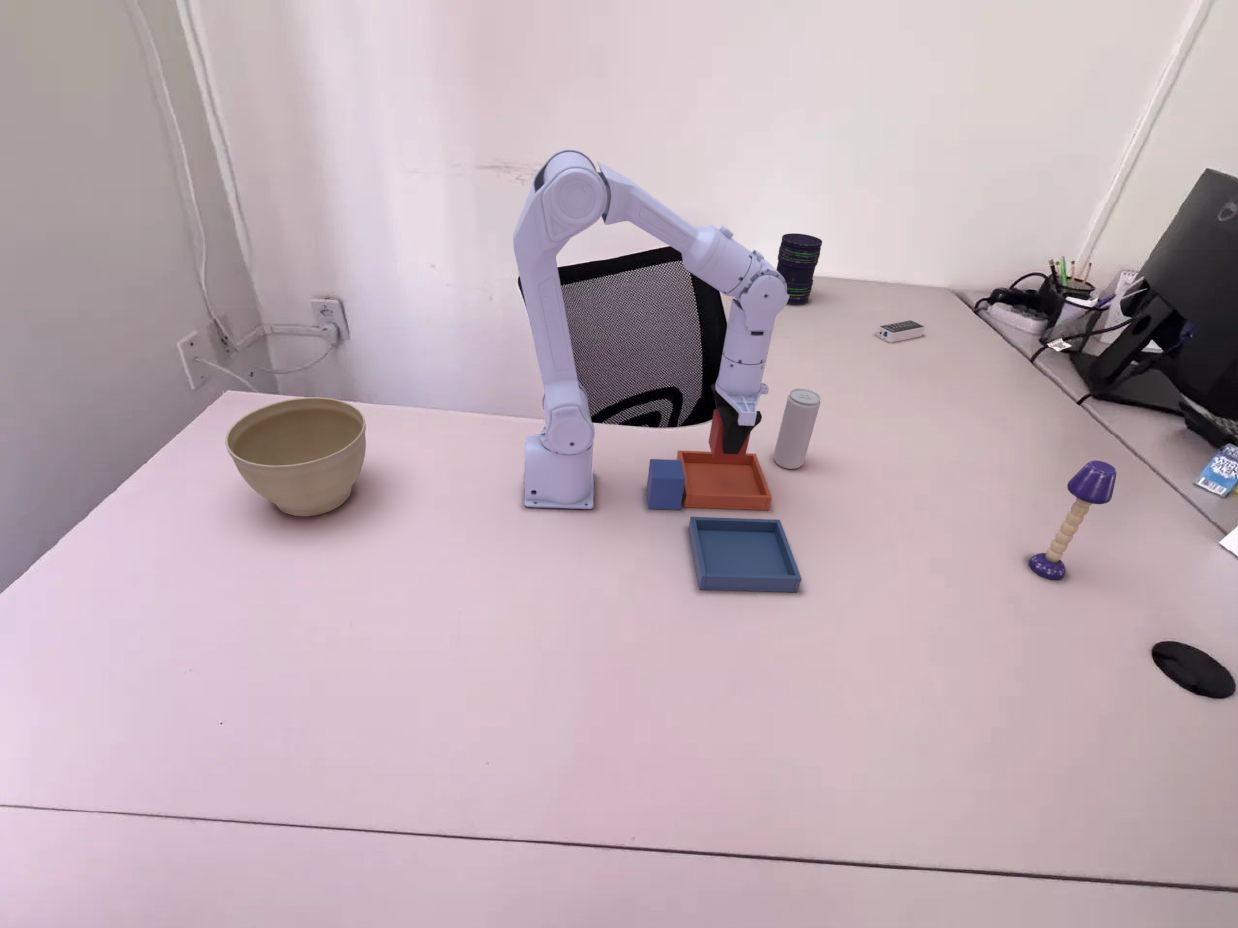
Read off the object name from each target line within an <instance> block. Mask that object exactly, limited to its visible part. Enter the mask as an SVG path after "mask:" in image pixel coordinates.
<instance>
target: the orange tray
mask: <svg viewBox="0 0 1238 928" xmlns="http://www.w3.org/2000/svg"><path fill="white" fill-rule="evenodd" d="M676 460H681V461H682V466H683V471H684V476H685V482H684V489H683V495H682V502H683V507H684V508H692V509H693V508H694V509H718V510H719V509H721V510H722V509H723V510H748V511H749V510H751V511H752V510H753V511H769V510H770V507H771V503H772V500H773V497H772V495H771V491H770V489H769V487H768V484H767V480H766V478H765V475H764V473H763V470H762V466H761V464H760V461H759V459H758V456H757V454H756V453H751V452H749V453H748V452H746V456H745V460H722V459H713V457H712V453H711V451H702V450H700V451H699V450H680V449H679V450H677V454H676Z"/></svg>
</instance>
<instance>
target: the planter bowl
mask: <svg viewBox="0 0 1238 928" xmlns="http://www.w3.org/2000/svg"><path fill="white" fill-rule="evenodd" d="M224 441H225V442H224V443H225V447H226V450H227V453H228V455H229V456H230V457H231V458H232V460H233V463H234V465H235V467H236V469H237V471H238V473H239V474H240V475H241V477H242V478H243V479H244V481H245V482H246V484H248V486H250V487H251V488H252V490H254V491H255V492H256V493H257V494H259V495H260V496H261V497H262V498H264V499H266V500H268V502H271V503H273V504H275V505H276V508H278V509H279V510H280V511H281V512H283V513H285V514H287V515H291V516H295V517H312V516H313V517H314V516H319V515H322V514H325V513H329V512H331V511H334V510H335V509H337V508H339V507H340V506H342V505H343V504H344V503H345V502H346V501H347V500H348V498H350V496H351V493H352V488H353V486H354V484H355V483H356V481H357V480H358V477H359V475H360V473H361V471H362V468H363V465H364V461H365V456H366V450H367V449H366V447H367V439H366V419H365V416H364V414H363V412H362V411H361V410H360V409H359V408H358V407H356V406H354V405H352V404H351V403H349V402H347V401H343V400H339V399H335V398H331V397H320V396H311V397H310V396H309V397H307V396H306V397H296V398H290V399H284V400H280V401H275V402H273V403H270V404H266V405H263V406H261V407H259V408H257V409H255V410H252V411H250V412H248V413H246V414H245V415H243V416H242V417H240V418H239V419H237V421H235V422H234V423H233V424H232V425H231V426H230V428H229V429H228V431H227V433H226V435H225V440H224Z"/></svg>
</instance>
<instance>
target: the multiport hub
mask: <svg viewBox="0 0 1238 928" xmlns="http://www.w3.org/2000/svg"><path fill="white" fill-rule="evenodd" d="M925 328H926V327H925V326H924V325H923V324H920V323H918V322H916V321H913V320H905V321H898V322H894V323H889V324H888V323H887V324H882V325H879V326H878V328H877V331H876V333H875V336H876V337H877V338H879V339H881V340H883V341H885V342H887V343H889V344H892V343H897V342H901V341H907V340H911V339H916V338H920V337H923V334H924V331H925Z"/></svg>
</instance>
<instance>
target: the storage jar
mask: <svg viewBox="0 0 1238 928" xmlns="http://www.w3.org/2000/svg"><path fill="white" fill-rule="evenodd" d="M781 236H782V237H781V242H780V246H779V248H778V254H777V260H778V261H777V265H776V268H775V269H776V270H777V271H778V272H779V273H780V274H781V275H782V276H783V277H784V279H785V283H786V284H787V295H789V299H788V302H787V304H786V305H787V306H804V305H807V304H808V303H809V297H810V295H811V292H812V288H813V285H814V279H813V278H814V274H815V270H816V267H817V265H818V263H819V259H820V256H821V249H822V245H823V240H822V239H820V238H819V237H816V236H813V235H809V234H804V233H793V232H792V233H791V232H790V233H785V234H783V235H781ZM786 305H785V306H786Z"/></svg>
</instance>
